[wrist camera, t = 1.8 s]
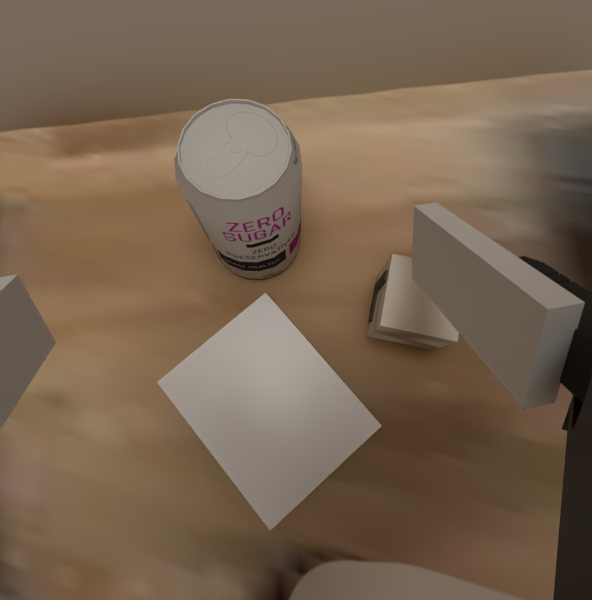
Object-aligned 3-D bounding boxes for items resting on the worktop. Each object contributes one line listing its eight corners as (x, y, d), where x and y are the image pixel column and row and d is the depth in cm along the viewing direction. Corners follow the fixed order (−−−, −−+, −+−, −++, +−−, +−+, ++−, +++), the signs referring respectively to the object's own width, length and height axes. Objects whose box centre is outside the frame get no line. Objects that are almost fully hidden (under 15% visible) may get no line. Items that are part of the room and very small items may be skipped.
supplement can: (256, 187, 40) (233, 68, 25) (317, 239, 39) (329, 144, 24) (199, 242, 39) (139, 150, 24) (259, 298, 37) (235, 236, 23)
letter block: (440, 288, 37) (466, 268, 32) (431, 350, 36) (457, 341, 30) (375, 275, 38) (390, 253, 32) (364, 336, 36) (377, 324, 31)
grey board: (377, 424, 35) (381, 425, 33) (271, 522, 33) (270, 530, 31) (267, 298, 37) (265, 292, 35) (164, 382, 35) (156, 382, 34)
